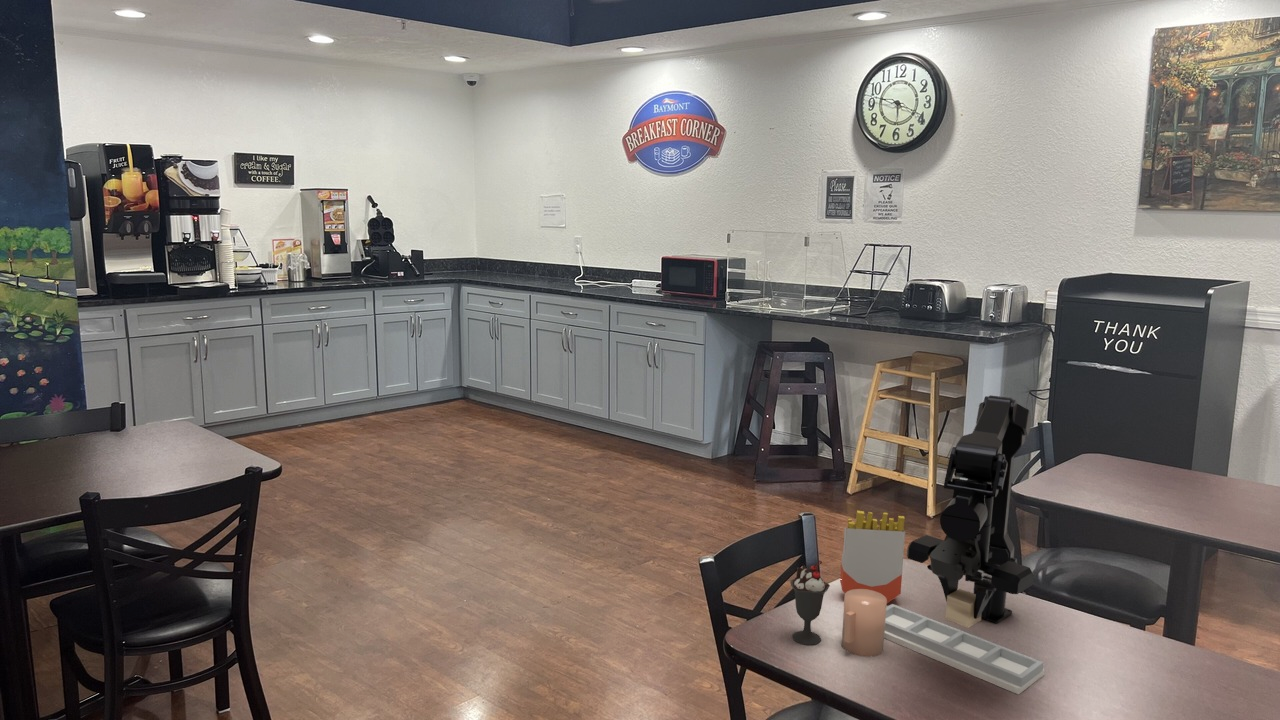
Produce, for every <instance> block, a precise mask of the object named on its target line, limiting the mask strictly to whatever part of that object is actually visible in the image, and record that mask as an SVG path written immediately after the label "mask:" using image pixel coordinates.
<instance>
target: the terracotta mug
mask: <svg viewBox="0 0 1280 720" xmlns="http://www.w3.org/2000/svg"><path fill="white" fill-rule="evenodd" d="M887 604H888V603H887V599H886V597H885V596H884V595H882V594H881V593H878V592H876V591H873V590H868V589H853V590H849V591H847V592H846V593H845V592H844V601H843V614H842V616H843V617H842V631H841V632H842V634H841V647H842V649H843V650H845V651H846V652H847V651H848V653H849V652H850V653H849V654H851V655H854V656H859V657H865V658H866V657H867V658H870V657H871V656H872V657H876V656H880V655H881V654H882V653H883V652H884V648H885V647H884V645H885V643H884V642H885V638H884V633H885V619H886V607H887V606H888V605H887ZM872 657H871V658H872Z"/></svg>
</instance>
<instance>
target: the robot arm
mask: <svg viewBox="0 0 1280 720" xmlns="http://www.w3.org/2000/svg"><path fill="white" fill-rule="evenodd" d="M975 423H976V424H975V426H974V429H973V430H972V433H969V434H965V435H962V436H961V437H960V438H959V439H958V441H957V443H956V445H955V446H952V448H951V450H950V454H949V458H948V464H947V468H946V473H945V478H944V482H943V483H944V484H943V489H946V490H952V491H953V492H952V493H953V494H952V497H951V500H950V502H948V504H947V506H946V507H944V509H943V510H942V512H941V515H940V517H939V523H940V525H939V526H940V527H941V530H942V531H943V533H944V534H945V538H944V539H941V538H937V537H934V536H931V535H928V534H925V535H923V536H921V537H919V538H917V539H913V540H912V541H910V542H909V544H908V546H907V547H906V548H907V549H906V558H907V559H909V560H912V561H914V562H918V563H920V564H924V563H925V562H926V561H929V564H928V565H927V569H928V570H929V571H930V572H932V574H933V575H935V576H937V577H938V580H939V582H940V584H941V587H942V591H943V594H944V598H945V601H946V602H947V595H949V594H951V593H953V592H955V591H956V590H958V589H959V588H958V587H959V581H960V580H961V579H962V578H963V577H965V578H964V579H965V582H971V583H974V584H973V591H972V593H974V594H976V598H975V605H974V618H975V619H977V618H979V617H980V615H981V619H983V620H986V621H988V622H992V623H995V624H996V623H999V622H1001V621H1003V620H1004V619H1006V618H1007V617H1010V615H1012V614H1013V610H1011V609H1009V608H1006V600H1007V593H1008V594H1011V595H1018V594H1020V593H1021V592H1023V591H1025V590H1027V589H1029V587H1031V586H1033V584H1034V573H1033V571H1032V570H1031V568H1030V567H1029V566H1026V565H1023V564H1019V563H1018V560H1017V558H1015V557H1014V556H1015V545H1014V543H1013V541H1012V539H1011V538H1010V536H1009V534H1008V531H1007V530H1008V523H1009V522H1008V521H1009V520H1008V519H1009V513H1010V512H1009V509H1010V503H1011V502H1010V501H1011V500H1010V499H1011V491H1012V481H1013V480H1012V479H1013V473H1014V472H1013V471H1014V469H1013V468H1014V461H1015V460H1014V459H1015V455H1016V453H1018V452H1019V450H1020V449H1021V448H1022V446H1023V445H1024V443H1025V442H1026V437H1027V436H1028V437H1029V435H1030V432H1031V425H1032V415H1031V412H1030V410H1029V409H1028V408H1026V407H1024V406H1022V405H1021V404H1019V403H1018V401H1017V399H1013V398H1012V397H1008V396H998V395H988V396H985V397H984V399H983V402H980V403H979V404H978V411H977V417H976V421H975ZM961 478H962V479H961ZM981 613H982V614H981Z"/></svg>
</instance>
